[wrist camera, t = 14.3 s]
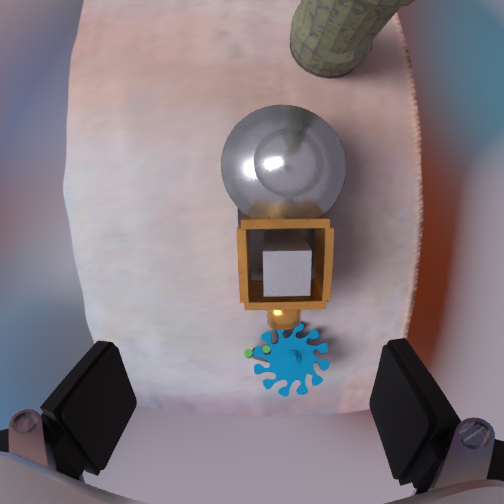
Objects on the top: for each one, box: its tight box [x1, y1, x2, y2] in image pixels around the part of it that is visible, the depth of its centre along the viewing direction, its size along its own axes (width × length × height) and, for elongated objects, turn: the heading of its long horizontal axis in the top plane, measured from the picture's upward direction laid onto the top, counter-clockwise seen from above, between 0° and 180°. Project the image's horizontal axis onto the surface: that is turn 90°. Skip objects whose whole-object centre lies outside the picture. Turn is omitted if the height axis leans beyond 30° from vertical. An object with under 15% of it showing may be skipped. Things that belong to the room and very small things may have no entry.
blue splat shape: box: [244, 323, 330, 397], centre depth 36 cm, size 11×6×10 cm
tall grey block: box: [263, 228, 312, 296], centre depth 29 cm, size 4×4×10 cm
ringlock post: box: [221, 105, 346, 330], centre depth 27 cm, size 22×11×14 cm, turn 2°
